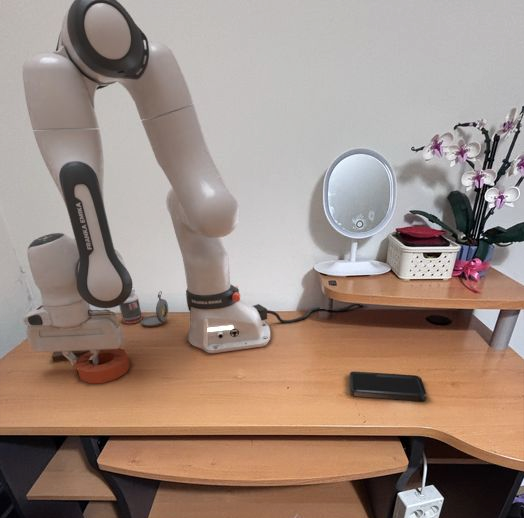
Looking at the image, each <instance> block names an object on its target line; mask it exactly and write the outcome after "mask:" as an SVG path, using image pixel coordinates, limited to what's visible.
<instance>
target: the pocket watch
mask: <svg viewBox="0 0 524 518" xmlns="http://www.w3.org/2000/svg"><path fill="white" fill-rule="evenodd" d="M162 293H163V292H162V291H159V292H158V293H157V298H158V301H157V303H156V306H155V315H154V314H153V315H149V316H146V317H144V318H142V319H141V320H140V322H141V325H142V326H144V327H149V328H153V327H157V326H161V325H162V324H163V323H164V322H166V321H167V319H168V316H169V303H168V302H167V300H166V299H164V298H162Z"/></svg>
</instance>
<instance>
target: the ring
mask: <svg viewBox="0 0 524 518" xmlns="http://www.w3.org/2000/svg"><path fill="white" fill-rule="evenodd" d="M93 354H94V353H93ZM93 354H91V352H90V351H89V352H87V353H86V354H84V355H82V356H80V358H79V359H78V360H77V362H76V366H75V367H76V369H77V372H78V376H79V378H80V380H81V382H85V383H88V384H105V383H107V382H108V383H109V382H111V381H114V380H117V379H118V378H120V377H122V376H124V375H125V374H126V373H127V372H128V370H129V368H130V367H131V363H130V359H129V355H128V353H127V351H126V350H125V349H124V348H121V347H120V348H119V349H106V350H100V351H99V353H98V356H97V357H98V361H99V363H98V364H97V365H92V364H90V363H89V361H88V360H89V358H90V357H91V356H93Z"/></svg>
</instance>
